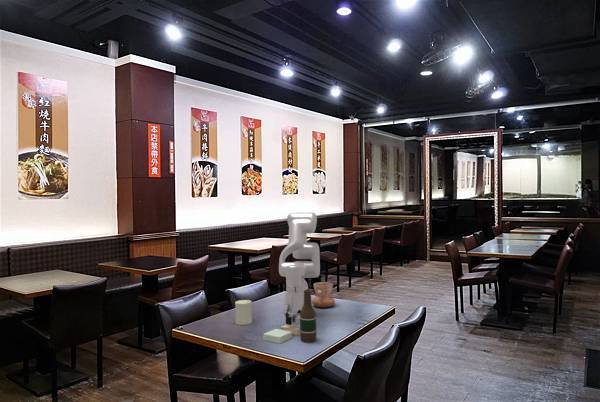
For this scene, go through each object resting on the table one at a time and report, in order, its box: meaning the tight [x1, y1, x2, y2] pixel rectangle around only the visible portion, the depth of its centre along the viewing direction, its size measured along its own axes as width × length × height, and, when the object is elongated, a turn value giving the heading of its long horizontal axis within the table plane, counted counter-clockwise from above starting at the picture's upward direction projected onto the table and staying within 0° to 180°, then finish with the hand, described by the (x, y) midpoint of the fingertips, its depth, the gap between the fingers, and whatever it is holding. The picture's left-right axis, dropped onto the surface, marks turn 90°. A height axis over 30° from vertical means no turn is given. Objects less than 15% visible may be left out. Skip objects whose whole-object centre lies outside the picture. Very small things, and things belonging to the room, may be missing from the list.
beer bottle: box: [299, 289, 317, 343], centre depth 208 cm, size 8×8×24 cm
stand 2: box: [280, 324, 300, 337], centre depth 222 cm, size 10×10×3 cm
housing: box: [284, 312, 300, 328], centre depth 222 cm, size 5×8×6 cm, turn 55°
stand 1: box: [262, 328, 293, 345], centre depth 210 cm, size 10×10×3 cm
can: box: [234, 299, 253, 326], centre depth 240 cm, size 9×9×12 cm
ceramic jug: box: [311, 281, 336, 309], centre depth 274 cm, size 18×14×14 cm
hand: (294, 322), depth 221 cm, fingers open, 9 cm apart
